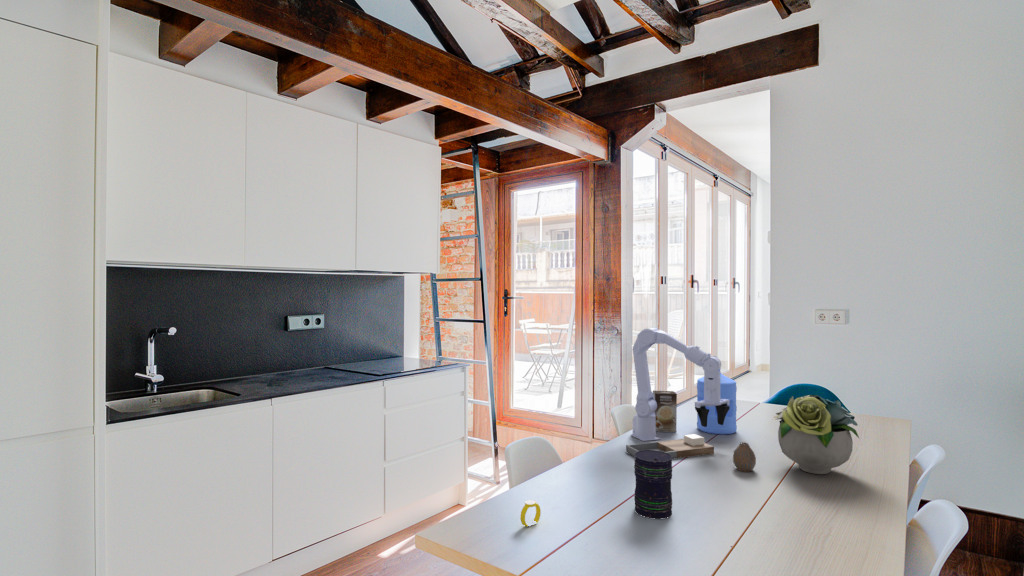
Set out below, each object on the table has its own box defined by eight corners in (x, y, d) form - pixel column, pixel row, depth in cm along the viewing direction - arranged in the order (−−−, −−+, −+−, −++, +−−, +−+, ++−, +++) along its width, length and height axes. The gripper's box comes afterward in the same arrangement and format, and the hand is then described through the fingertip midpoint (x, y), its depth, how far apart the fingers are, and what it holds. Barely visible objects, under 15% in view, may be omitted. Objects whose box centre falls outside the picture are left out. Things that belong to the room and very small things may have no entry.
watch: (526, 531, 130) (525, 508, 129) (518, 528, 132) (517, 504, 131) (543, 522, 134) (542, 499, 133) (535, 519, 136) (534, 496, 135)
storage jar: (631, 503, 146) (631, 449, 146) (666, 503, 145) (666, 450, 145) (638, 519, 136) (638, 461, 136) (676, 519, 135) (676, 461, 135)
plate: (656, 448, 196) (656, 441, 196) (692, 444, 201) (692, 437, 201) (676, 458, 184) (676, 451, 184) (713, 453, 189) (713, 446, 189)
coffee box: (654, 431, 219) (654, 393, 219) (651, 427, 225) (651, 390, 225) (677, 432, 218) (676, 393, 218) (673, 428, 224) (673, 390, 224)
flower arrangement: (777, 453, 189) (777, 386, 189) (861, 467, 175) (860, 394, 175) (765, 473, 169) (765, 397, 169) (858, 490, 154) (857, 408, 155)
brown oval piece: (758, 469, 173) (758, 443, 173) (751, 475, 168) (751, 447, 168) (737, 464, 178) (737, 438, 178) (729, 470, 172) (729, 443, 173)
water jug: (702, 423, 232) (702, 360, 232) (740, 428, 223) (740, 363, 223) (692, 431, 220) (692, 364, 220) (731, 437, 210) (731, 367, 211)
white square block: (683, 441, 195) (683, 435, 195) (695, 440, 197) (695, 434, 197) (692, 445, 191) (692, 438, 191) (704, 444, 192) (704, 437, 192)
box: (626, 451, 191) (626, 445, 191) (656, 448, 196) (656, 441, 196) (644, 462, 180) (644, 455, 180) (676, 458, 184) (676, 451, 184)
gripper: (703, 392, 190) (703, 429, 190) (735, 389, 195) (735, 426, 195) (690, 388, 197) (691, 425, 197) (721, 386, 202) (722, 421, 202)
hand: (712, 425), depth 196 cm, fingers open, 7 cm apart
